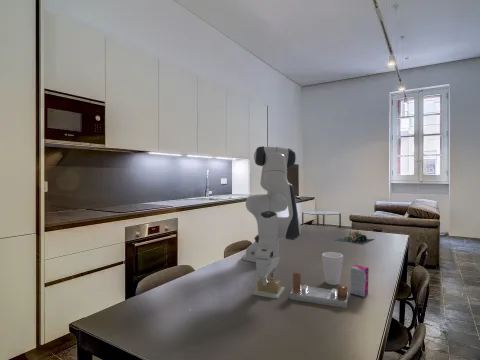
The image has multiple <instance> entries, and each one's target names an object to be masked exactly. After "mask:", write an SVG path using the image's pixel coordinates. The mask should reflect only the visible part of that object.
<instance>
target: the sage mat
mask: <svg viewBox="0 0 480 360" xmlns="http://www.w3.org/2000/svg"><path fill="white" fill-rule="evenodd" d="M285 290H286V286H281V290H280V291H279V293H278V294H277V293H271V292H264V291H258V287H257V288H256V289H255V290H254V291H253V292H252V295H253V296H260V297H266V298H270V299H271V298H272V299H277V300H278V299H279V298H280V297H281V296H282V294H283V292H284V291H285Z"/></svg>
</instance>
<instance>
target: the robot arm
mask: <svg viewBox="0 0 480 360" xmlns="http://www.w3.org/2000/svg"><path fill="white" fill-rule="evenodd" d="M295 151H296V150H294V149H292V148H290V147H289V148H286V147H285V148H284V147H279V146H262V145H261V146H257V148H256V149H255V151H254V154H253V160H254V163H255V165H257V166H259V167H261V168H262V169H261V172H260V173H261V174H260V175H261V176H260V186H261V188H262V189H263V190H265V191H266V192H267V193H266V194H252V195H249V196H248V197H247V198H246V199H245V200H246V201H245V206H246V210H247V211H248V212H249V213H251V214H252V215H253V217H254V218H255V220H256V224H257V235H256V236H254V242H253V243H252V244H250V245H249V246H247V247H246V250H245V254H243V255H242V256H241V260H242V261H246V262H251V263H255V271H256V272H255V273H256V275H257V277H258V278H262V281H263V285H267V284H268V280H267V278H268V276H269V279H274V278H275V272H276V268H277V266H278V265H279V262H280V260H281V259H280V255H279V253H280V250H279V249H280V247H279V246H280V242H279V241H280V240H279V239H284V240H291V241H295V240H296V239H297V238H299V237H300V236H301V233H302V232H301V231H302V229H301V228H302V226H301V222H300V219H299V215H298V207H297V200H296V194H295V189H294V186H293V184H292V183H290V182H289V180H288V169H291V168H293V167H294V166H295V164H296V161H297V155H296V152H295ZM287 209H288V216H287V217H286V216H285V217H284V216H283V217H282V216H278V213H280V212H283V211H286V210H287Z"/></svg>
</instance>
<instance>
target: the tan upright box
mask: <svg viewBox="0 0 480 360" xmlns="http://www.w3.org/2000/svg"><path fill="white" fill-rule="evenodd" d="M267 280H268V284H267V285H263V281H262V278H261V277H259V279H258V280H257V288H258V291H264V292H271V293H277V294H278V293H279V291H280V290H281V287H282V280H281V279H274V278H268V277H267Z"/></svg>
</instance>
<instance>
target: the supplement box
mask: <svg viewBox="0 0 480 360" xmlns="http://www.w3.org/2000/svg"><path fill="white" fill-rule="evenodd" d="M369 269H370V268H369V266H368V267H367V266H365V265H364V266H363V265H358V264H354V265H353V266H352V267H350V287H349V288H350V291H349V295H352V296H355V297H358V298H365V297H366V296H367V295H368V294H369Z"/></svg>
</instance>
